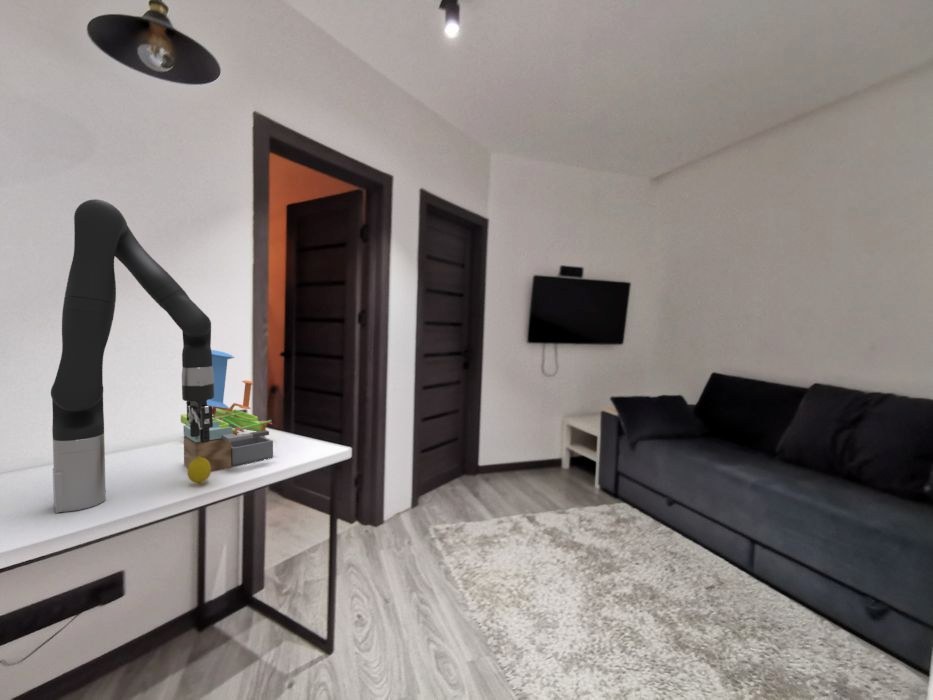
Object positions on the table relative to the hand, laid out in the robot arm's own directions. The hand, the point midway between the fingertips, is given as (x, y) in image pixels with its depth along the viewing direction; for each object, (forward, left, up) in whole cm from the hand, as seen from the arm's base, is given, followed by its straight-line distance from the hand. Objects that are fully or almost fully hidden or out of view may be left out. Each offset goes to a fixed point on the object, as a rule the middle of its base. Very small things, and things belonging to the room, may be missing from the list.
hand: (199, 439), depth 114 cm
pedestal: (+6, +15, -13) cm, 21 cm away
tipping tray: (+11, +12, -3) cm, 16 cm away
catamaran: (+20, +40, -13) cm, 47 cm away
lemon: (0, 0, -13) cm, 13 cm away
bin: (+18, +15, -13) cm, 27 cm away
